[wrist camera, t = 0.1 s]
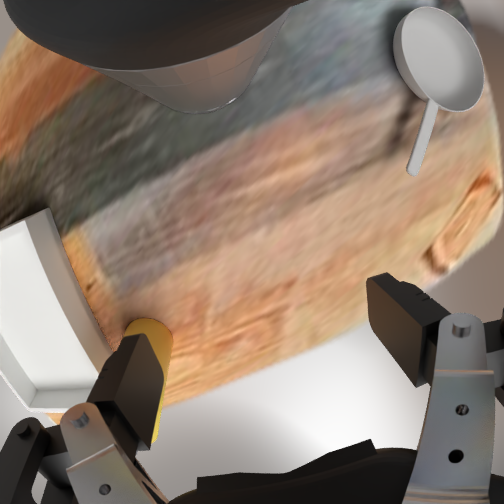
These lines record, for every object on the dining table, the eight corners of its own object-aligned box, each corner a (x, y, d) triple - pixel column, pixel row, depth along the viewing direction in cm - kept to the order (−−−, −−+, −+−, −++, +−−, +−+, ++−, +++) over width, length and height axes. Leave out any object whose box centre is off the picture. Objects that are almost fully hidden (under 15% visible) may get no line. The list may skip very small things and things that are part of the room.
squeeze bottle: (117, 322, 29) (73, 427, 16) (162, 313, 29) (134, 426, 16) (137, 360, 31) (109, 464, 18) (180, 353, 31) (166, 464, 18)
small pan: (470, 54, 22) (492, 50, 18) (428, 191, 28) (450, 200, 24) (396, -3, 20) (416, -15, 16) (343, 144, 25) (361, 146, 22)
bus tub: (-37, 248, 24) (-59, 262, 20) (49, 207, 24) (24, 220, 20) (39, 390, 32) (28, 411, 28) (131, 383, 32) (124, 410, 28)
